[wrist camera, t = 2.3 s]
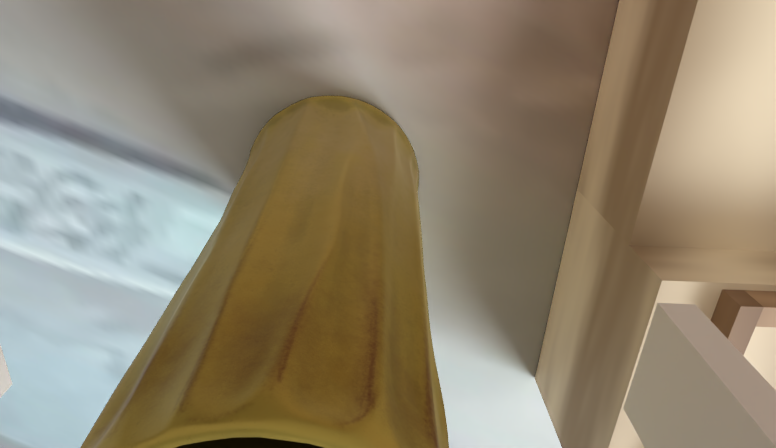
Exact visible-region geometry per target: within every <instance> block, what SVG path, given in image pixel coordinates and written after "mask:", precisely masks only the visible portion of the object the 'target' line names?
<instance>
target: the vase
mask: <svg viewBox="0 0 776 448" xmlns="http://www.w3.org/2000/svg"><path fill="white" fill-rule="evenodd" d="M418 184H419V170H418V165H417V160H416V156H415V154H414V151H413V148H412V146H411V144H410V142H409V140H408V138H407V137H406V135H405V134H404V132H403V131H402V129H401V128H400V127H399V126H398V125H397V124H396V122H394V121H393V120H392V119H391V118H390V117H389V116H387V115H386V114H385V113H384V112H382V111H380V110H379V109H377V108H376V107H374V106H372V105H370V104H368V103H366V102H363V101H360V100H357V99H353V98H349V97H343V96H317V97H310V98H307V99H303V100H301V101H299V102H297V103H294V104H292V105H291V106H289V107H287V108H285V109H284V110H282V111H281V112H279V113H278V114H276V115H275V116H274V117H273V118H271V119H270V120H269V121H268V122H267V123H266V125H265V126H264V127H263V129H262V130H261V131H260V133H259V135H258V136H257V138H256V140H255V142H254V144H253V146H252V148H251V151H250V156H249V160H248V163H247V165H246V167H245V170H244V172H243V174H242V176H241V178H240V180H239V182H238V183H237V185H236V187H235V189H234V191H233V193H232V195H231V198H230V200H229V202H228V205H227V207H226V209H225V211H224V214H223V216H222V218H221V220H220V222H219V224H218V225H217V227H216V229H215V230H214V232H213V233H212V235H211V237H210V238H209V240H208V242H207V243H206V245H205V247H204V248H203V250H202V252H201V253H200V255H199V257H198V258H197V260H196V262H195V263H194V265H193V267H192V268H191V270H190V271H189V273H188V274H187V276H186V277H185V279H184V280H183V282H182V284H181V285H180V287H179V288H178V290H177V292H176V293H175V295H174V297H173V298H172V300H171V301H170V303H169V305H168V306H167V308H166V310H165V311H164V313H163V315H162V316H161V318H160V319H159V321H158V323H157V324H156V326H155V328H154V329H153V331H152V332H151V334H150V336H149V337H148V339H147V341H146V342H145V344H144V345H143V347H142V348H141V350H140V352H139V353H138V355H137V356H136V358H135V359H134V361H133V362H132V364H131V366H130V367H129V369H128V370H127V372H126V373H125V375H124V376H123V378H122V379H121V381H120V383H119V384H118V386H117V387H116V389H115V391H114V392H113V394H112V396H111V397H110V399H109V401H108V402H107V404H106V406H105V407H104V409H103V411H102V412H101V414H100V416H99V417H98V419H97V421H96V422H95V424H94V426H93V427H92V429H91V431H90V432H89V434H88V436H87V438H86V439H85V441H84V443H83V444H82V446H81V448H449V445H448V432H447V424H446V417H445V410H444V404H443V398H442V393H441V388H440V383H439V378H438V373H437V368H436V363H435V358H434V352H433V346H432V339H431V331H430V323H429V313H428V302H427V291H426V282H425V274H424V263H423V247H422V234H421V222H420V212H419V202H418V192H417V191H418Z"/></svg>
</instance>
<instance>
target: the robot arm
mask: <svg viewBox="0 0 776 448" xmlns="http://www.w3.org/2000/svg"><path fill="white" fill-rule="evenodd" d="M11 385H12V381H11V378H10V375H9V371H8V368H7V365H6V362H5V359H4V355H3V352H2V349H1V346H0V398H1V397H2V395H3V394H4V393H5V392H6V391H7V390H8V389H9V388H10V386H11ZM623 409H624V411H625V412H626V414H627V416H628V418H629V420H630V422H631V423H632V425H633V427H634V429H635V431H636V433H637V434H638V436H639V438H640V440H641V442H642V444H643V445H644V447H645V448H776V390H775V389H774V388H773V387H772V386H771V385H770V384H769V383H768V382H767V381H766V380H765V379H764V378H763V376H762V375H761V374H760V373H759V372H758V371H757V370H756V369H755V368H754V367H753V366H752V365H751V364H750V362H749V361H748V360H747V359H746V358H745V357H744V356H743V355H742V354H741V353H740V352H739V351H738V350H737V349H736V347H735V346H734V345H733V344H732V343H731V342H730V341H729V340H728V339H727V338H726V337H725V336H724V335H723V333H722V332H721V331H720V330H719V329H718V328H717V327H716V326H715V325H714V324H713V323H712V322H711V321H710V319H709V318H708V317H707V316H706V315H705V314H704V313H703V312H702V311H701V310H700V309H699V308H698V307H697V305H695V304H673V303H657V306H656V309H655V312H654V315H653V318H652V321H651V324H650V328H649V331H648V334H647V337H646V340H645V343H644V346H643V349H642V352H641V355H640V358H639V361H638V364H637V368H636V371H635V374H634V377H633V380H632V383H631V386H630V389H629V392H628V395H627V398H626V401H625V404H624V408H623Z"/></svg>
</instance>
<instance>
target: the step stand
mask: <svg viewBox="0 0 776 448" xmlns="http://www.w3.org/2000/svg"><path fill="white" fill-rule="evenodd" d="M657 303H673V304H695V305H697V307H698V308H699V309H700V310H701V311H702V312H703V313H704V314H705V315H706V316H707V317H708V318H709V319H710V321H711V322H712V323H713V324H714V325H715V326H716V327H717V328H718V329H719V330H720V331H721V332H722V333H723V335H724V336H725V337H726V338H727V339H728V340H729V341H730V342H731V343H732V344H733V345H734V346H735V347H736V349H737V350H738V351H739V352H740V353H741V354H742V355H743V356H744V357H745V358H746V359H747V360H748V361H749V362H750V364H751V365H752V366H753V367H754V368H755V369H756V370H757V371H758V372H759V373H760V374H761V375H762V376H763V378H764V379H765V380H766V381H767V382H768V383H769V384H770V385H771V386H772V387H773V388H774V389H775V390H776V0H619V4H618V8H617V13H616V17H615V21H614V26H613V30H612V35H611V39H610V44H609V48H608V53H607V57H606V62H605V66H604V71H603V75H602V80H601V84H600V89H599V93H598V98H597V102H596V107H595V111H594V116H593V120H592V125H591V129H590V133H589V138H588V142H587V147H586V151H585V156H584V160H583V165H582V169H581V174H580V178H579V183H578V187H577V192H576V196H575V201H574V205H573V210H572V214H571V219H570V223H569V228H568V232H567V237H566V241H565V246H564V250H563V254H562V259H561V263H560V268H559V272H558V277H557V281H556V286H555V290H554V295H553V299H552V304H551V308H550V313H549V317H548V322H547V326H546V331H545V335H544V340H543V344H542V349H541V353H540V358H539V362H538V367H537V371H536V375H535V380H536V383H537V385H538V388H539V390H540V393H541V395H542V398H543V400H544V403H545V405H546V408H547V410H548V413H549V416H550V418H551V421H552V423H553V426H554V428H555V431H556V433H557V436H558V438H559V441H560V443H561V446H562V448H645V447H644V445H643V444H642V442H641V440H640V438H639V436H638V434H637V433H636V431H635V429H634V427H633V425H632V423H631V422H630V420H629V418H628V416H627V414H626V412H625V411H624V409H623V408H624V404H625V401H626V398H627V395H628V392H629V389H630V386H631V383H632V380H633V377H634V374H635V371H636V368H637V364H638V361H639V358H640V355H641V352H642V349H643V346H644V343H645V340H646V337H647V334H648V331H649V328H650V324H651V321H652V318H653V315H654V312H655V309H656V306H657Z"/></svg>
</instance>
